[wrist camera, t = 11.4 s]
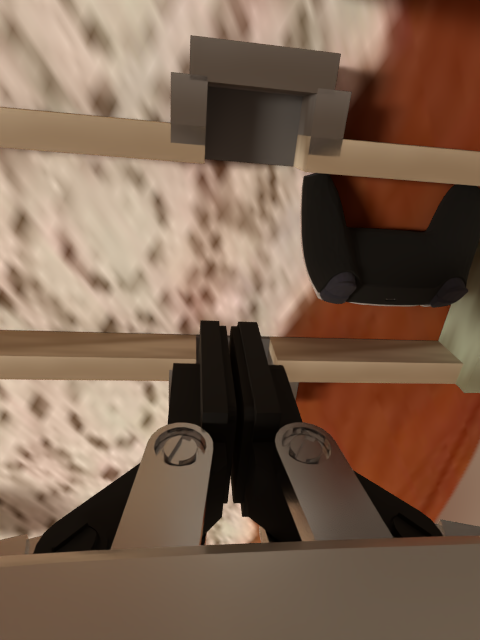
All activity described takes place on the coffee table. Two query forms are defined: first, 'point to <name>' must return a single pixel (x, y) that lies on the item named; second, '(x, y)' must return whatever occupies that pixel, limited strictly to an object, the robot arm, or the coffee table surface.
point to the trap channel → (310, 156)
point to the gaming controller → (388, 251)
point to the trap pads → (251, 133)
